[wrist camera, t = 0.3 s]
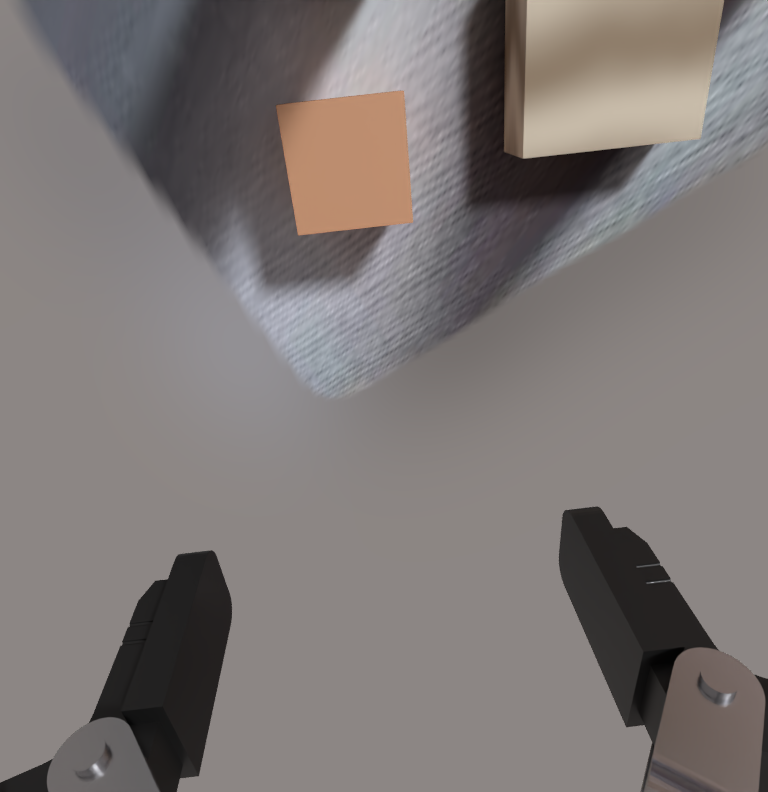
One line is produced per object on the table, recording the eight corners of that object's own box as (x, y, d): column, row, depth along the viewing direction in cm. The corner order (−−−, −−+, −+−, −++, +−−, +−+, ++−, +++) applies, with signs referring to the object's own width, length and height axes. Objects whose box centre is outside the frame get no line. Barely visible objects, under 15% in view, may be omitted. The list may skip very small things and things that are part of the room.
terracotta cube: (287, 103, 31) (275, 105, 25) (393, 91, 31) (403, 90, 25) (305, 213, 34) (298, 235, 28) (402, 202, 34) (413, 222, 28)
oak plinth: (505, -51, 28) (528, -72, 24) (690, -72, 28) (740, -96, 24) (504, 151, 32) (523, 158, 29) (662, 134, 32) (700, 138, 29)
